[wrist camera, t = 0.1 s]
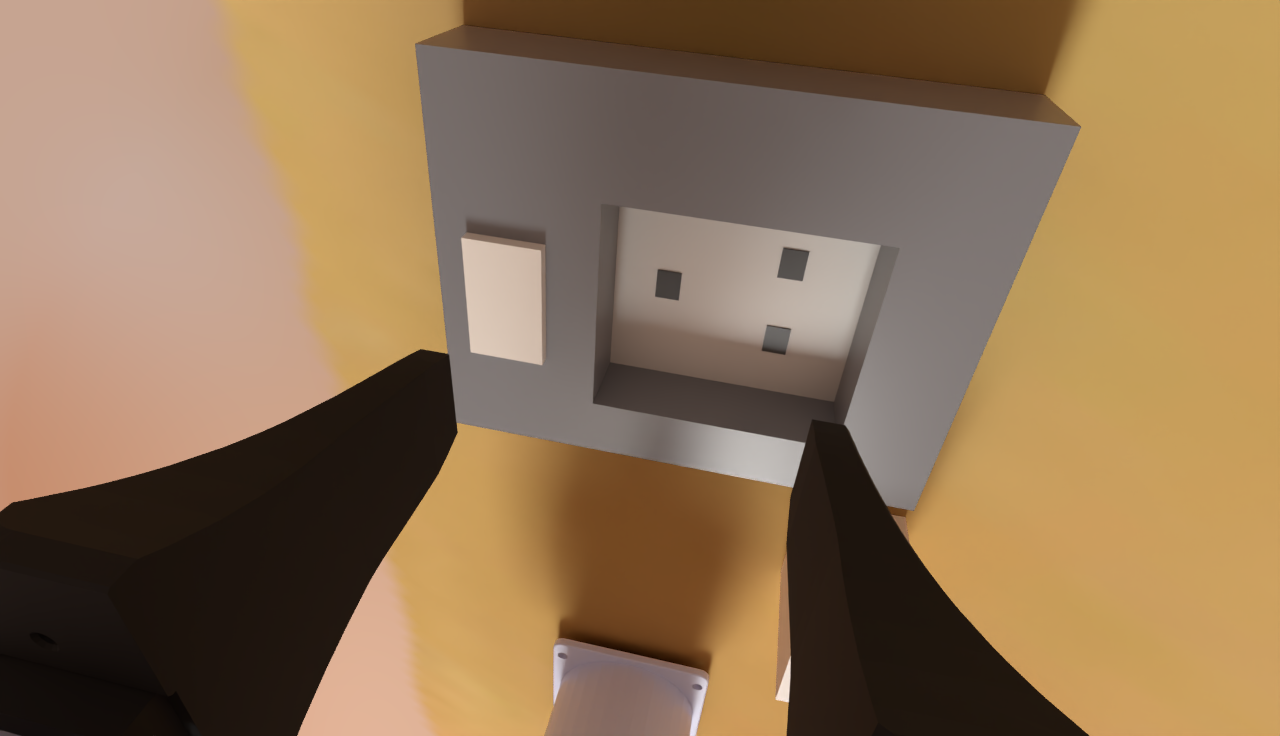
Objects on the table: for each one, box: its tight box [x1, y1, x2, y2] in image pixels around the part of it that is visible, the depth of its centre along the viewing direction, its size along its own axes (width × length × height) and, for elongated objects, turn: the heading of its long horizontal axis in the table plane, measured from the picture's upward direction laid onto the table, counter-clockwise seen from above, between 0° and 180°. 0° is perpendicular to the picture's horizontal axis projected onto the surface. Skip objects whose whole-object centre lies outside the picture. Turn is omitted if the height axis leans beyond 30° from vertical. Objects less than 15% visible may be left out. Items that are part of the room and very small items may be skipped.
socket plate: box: [415, 25, 1081, 511], centre depth 21 cm, size 12×16×3 cm
